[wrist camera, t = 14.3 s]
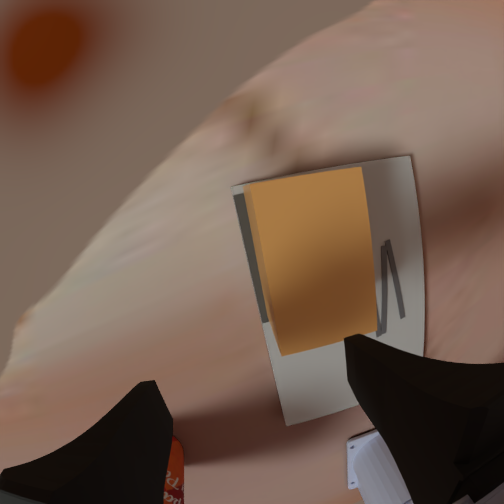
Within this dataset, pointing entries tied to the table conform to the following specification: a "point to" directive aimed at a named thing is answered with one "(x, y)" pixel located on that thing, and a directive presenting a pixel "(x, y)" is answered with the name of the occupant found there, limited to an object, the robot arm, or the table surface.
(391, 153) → the table surface
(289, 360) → the board
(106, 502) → the robot arm
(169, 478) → the coffee cup
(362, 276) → the block
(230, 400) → the table surface
